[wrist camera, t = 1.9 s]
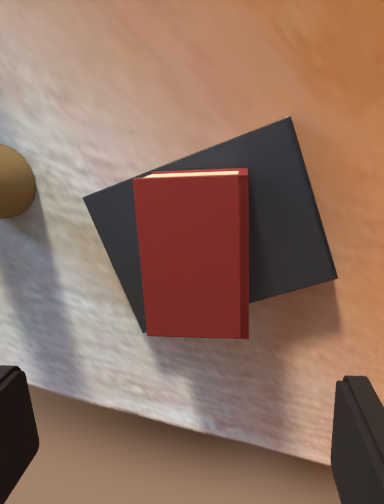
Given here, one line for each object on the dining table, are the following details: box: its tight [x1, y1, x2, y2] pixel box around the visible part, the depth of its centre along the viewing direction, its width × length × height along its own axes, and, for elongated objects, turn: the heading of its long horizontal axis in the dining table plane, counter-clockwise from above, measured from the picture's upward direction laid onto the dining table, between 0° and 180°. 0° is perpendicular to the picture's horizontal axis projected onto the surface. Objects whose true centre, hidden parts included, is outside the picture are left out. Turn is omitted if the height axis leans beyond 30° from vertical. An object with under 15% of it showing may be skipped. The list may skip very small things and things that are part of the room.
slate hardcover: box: [83, 116, 338, 333], centre depth 28 cm, size 16×12×2 cm
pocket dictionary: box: [133, 168, 249, 339], centre depth 25 cm, size 7×10×5 cm, turn 3°
